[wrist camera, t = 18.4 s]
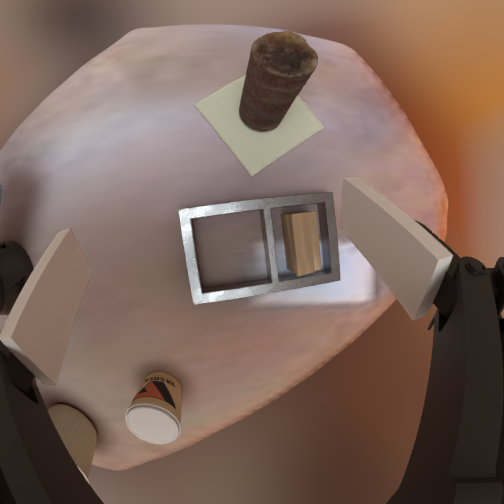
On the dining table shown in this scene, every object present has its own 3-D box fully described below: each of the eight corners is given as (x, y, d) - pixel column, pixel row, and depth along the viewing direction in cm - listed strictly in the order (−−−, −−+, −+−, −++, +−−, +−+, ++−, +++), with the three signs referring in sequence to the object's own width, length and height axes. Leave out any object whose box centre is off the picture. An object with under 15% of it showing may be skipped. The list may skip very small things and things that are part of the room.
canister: (39, 413, 43) (4, 460, 22) (55, 379, 42) (10, 433, 22) (93, 454, 46) (72, 509, 25) (119, 428, 46) (95, 494, 25)
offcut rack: (195, 297, 44) (193, 304, 41) (181, 210, 42) (178, 209, 39) (332, 276, 47) (340, 280, 43) (324, 193, 45) (332, 192, 41)
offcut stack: (287, 268, 46) (298, 275, 39) (281, 214, 44) (291, 214, 38) (310, 264, 46) (325, 271, 40) (305, 211, 45) (319, 211, 39)
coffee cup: (184, 370, 46) (178, 410, 34) (187, 407, 47) (182, 448, 35) (136, 365, 44) (119, 402, 33) (142, 402, 45) (129, 441, 34)
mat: (194, 106, 40) (194, 104, 40) (268, 64, 41) (268, 62, 40) (251, 177, 43) (252, 176, 42) (322, 128, 43) (324, 127, 43)
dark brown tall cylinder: (241, 137, 41) (261, 78, 22) (232, 99, 40) (245, 27, 21) (286, 130, 42) (332, 75, 22) (275, 93, 41) (311, 26, 21)
